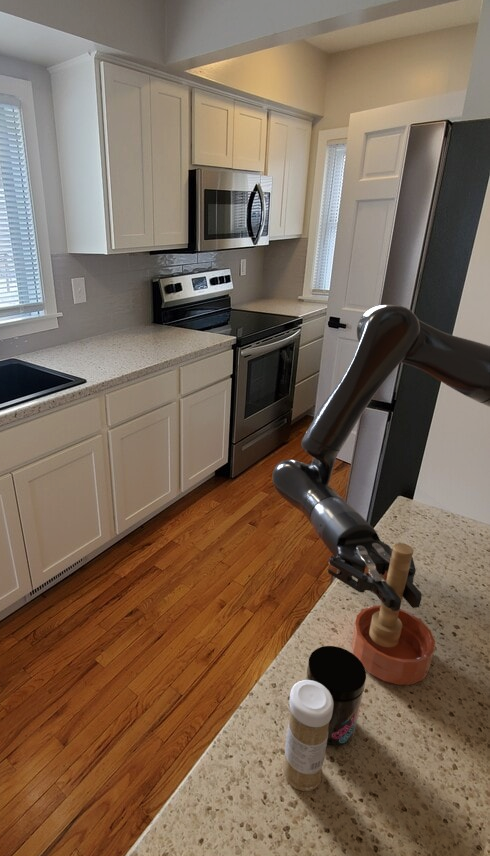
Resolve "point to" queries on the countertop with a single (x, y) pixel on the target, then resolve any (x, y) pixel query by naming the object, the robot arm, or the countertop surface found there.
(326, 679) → the supplement container
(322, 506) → the robot arm
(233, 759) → the countertop surface
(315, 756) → the sprinkles bottle
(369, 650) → the bowl
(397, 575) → the muddler
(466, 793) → the countertop surface
